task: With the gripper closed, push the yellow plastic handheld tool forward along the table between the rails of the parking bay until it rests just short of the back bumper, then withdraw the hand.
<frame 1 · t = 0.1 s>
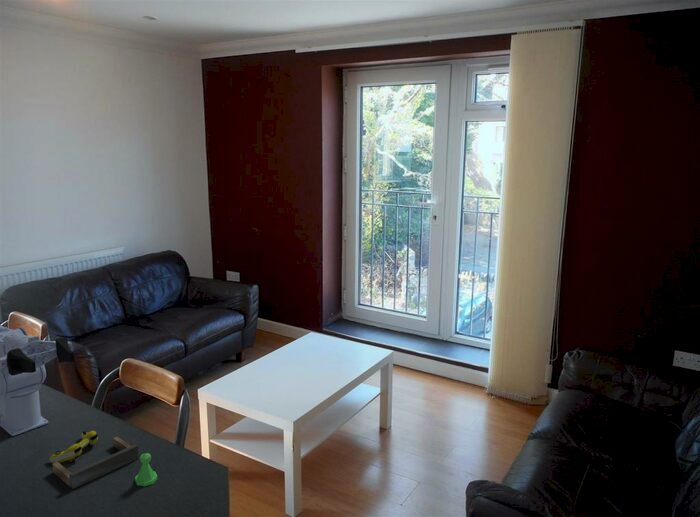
hand: (53, 362, 111), 22 cm above the table, tool horizontal, fingers open, 7 cm apart
parking bay: (95, 463, 112), on the table
game piece: (146, 480, 108), on the table
yellow plastic handheld tool: (77, 453, 116), on the table
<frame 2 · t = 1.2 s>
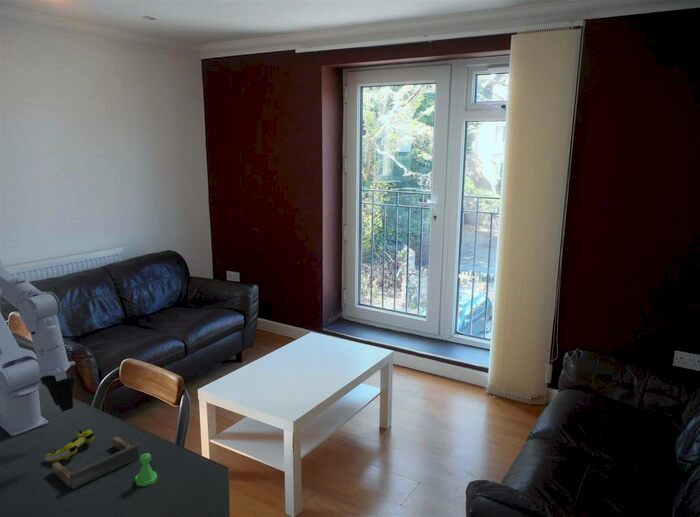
hand: (64, 406, 117), 9 cm above the table, tool pointing down, fingers open, 7 cm apart
yellow plastic handheld tool: (73, 452, 117), on the table
everything else where it was.
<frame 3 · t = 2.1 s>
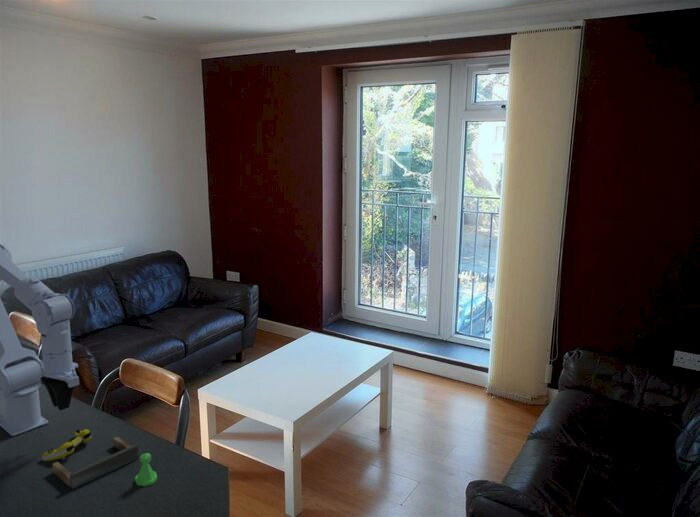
hand: (61, 406, 119), 8 cm above the table, tool pointing down, fingers closed
nothing on the table moved.
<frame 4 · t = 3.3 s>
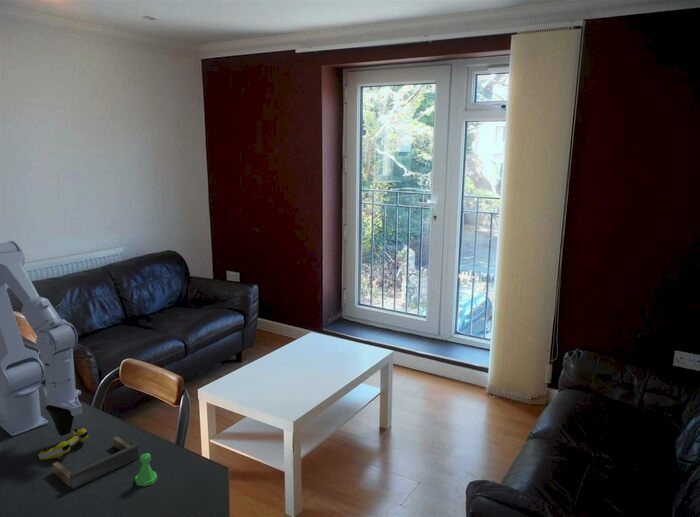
hand: (64, 433, 120), 2 cm above the table, tool pointing down, fingers closed
yellow plastic handheld tool: (67, 450, 117), on the table, touching gripper
everything else where it was.
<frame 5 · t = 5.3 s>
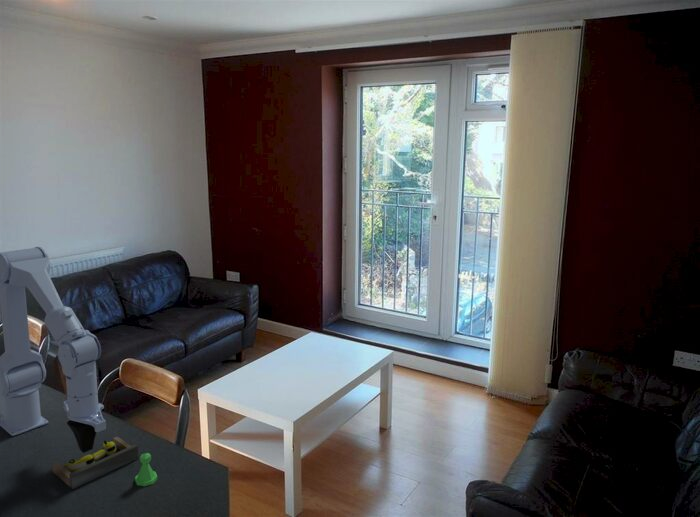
hand: (86, 449, 114), 2 cm above the table, tool pointing down, fingers closed
yellow plastic handheld tool: (94, 463, 113), on the table, touching gripper
everything else where it was.
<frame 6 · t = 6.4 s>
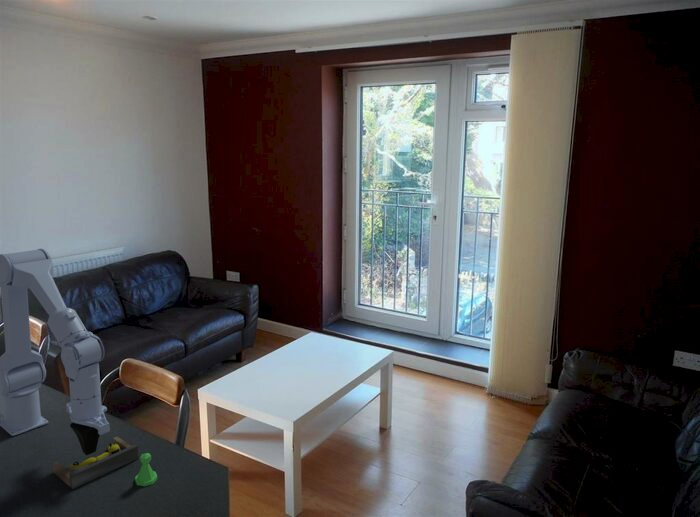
hand: (89, 452, 113), 2 cm above the table, tool pointing down, fingers closed
yellow plastic handheld tool: (98, 466, 112), on the table
everything else where it was.
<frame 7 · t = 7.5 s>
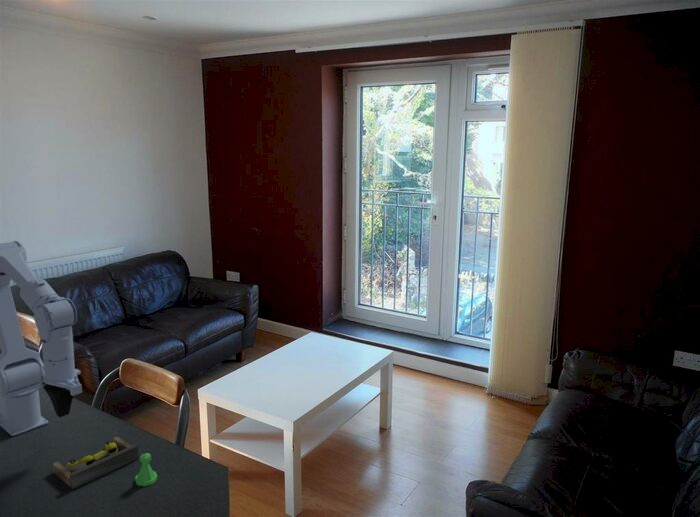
hand: (63, 414, 114), 9 cm above the table, tool pointing down, fingers closed
yellow plastic handheld tool: (95, 464, 113), on the table
everything else where it was.
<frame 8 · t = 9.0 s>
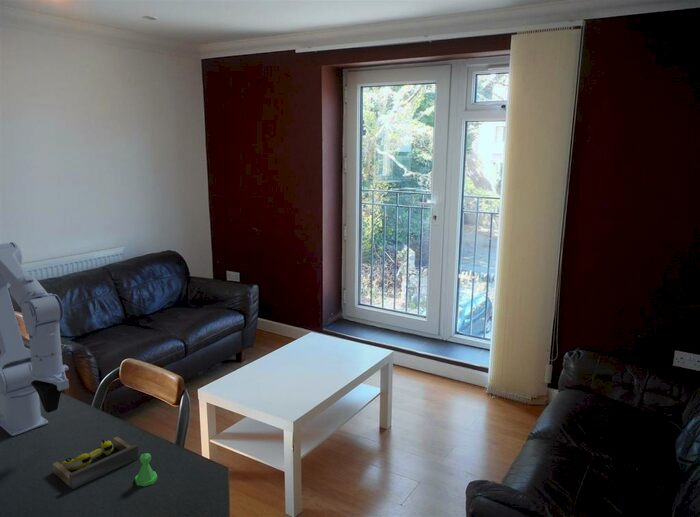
hand: (51, 410, 115), 9 cm above the table, tool pointing down, fingers closed
yellow plastic handheld tool: (91, 462, 113), on the table
everything else where it was.
at the end: yellow plastic handheld tool 2.2 cm off-centre on the parking bay, point -0.5 cm above the parking bay's base; yellow plastic handheld tool moved 5.1 cm from its start; yellow plastic handheld tool tilted 0° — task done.
